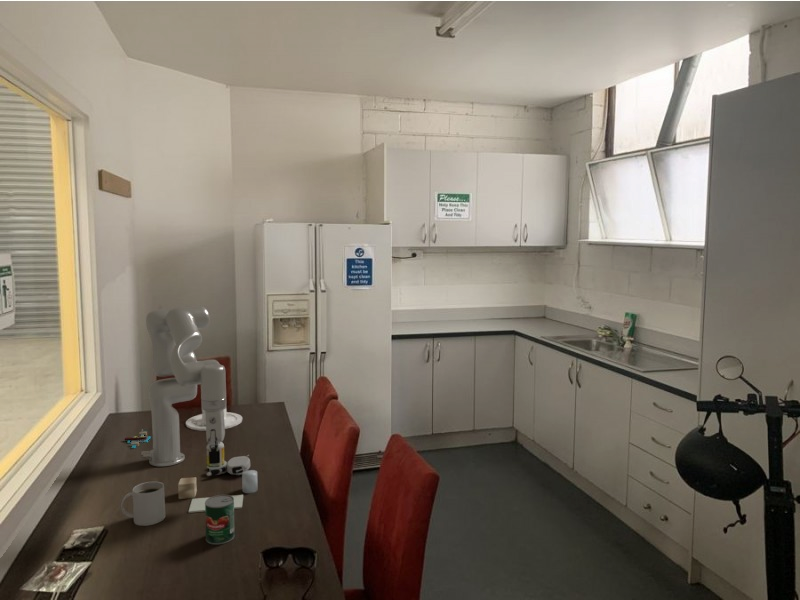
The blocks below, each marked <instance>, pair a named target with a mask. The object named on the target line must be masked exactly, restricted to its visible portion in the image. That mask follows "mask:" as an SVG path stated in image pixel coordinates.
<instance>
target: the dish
mask: <svg viewBox="0 0 800 600" xmlns="http://www.w3.org/2000/svg"><path fill="white" fill-rule="evenodd" d="M242 422H243V416H242V415H241V414H238V413H236V412H230V411H229V412H228V411H227V408H226V409H224V424H225V430H226V429H230V428H234V427H236V426H238V425H239V424H241V423H242ZM185 426H186V427H187V428H188V429H190V430H195V431H201V432H203V431H205V432H206V415H205V411H203V410H202V409H201V413H200V414H197V415H195V416H192V417H190V418H188V419H186V421H185Z"/></svg>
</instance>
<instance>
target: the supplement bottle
mask: <svg viewBox="0 0 800 600" xmlns="http://www.w3.org/2000/svg"><path fill="white" fill-rule="evenodd" d="M215 441H217V439H215ZM215 445H217V443H215ZM219 450H220V463H214V464H210V463H209V443H207V445H206V468H207V469H208V468H209V469H220V468H222V467H223V466H224V461H225V445H224V443H223V441H222V442H221V441H219Z"/></svg>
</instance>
